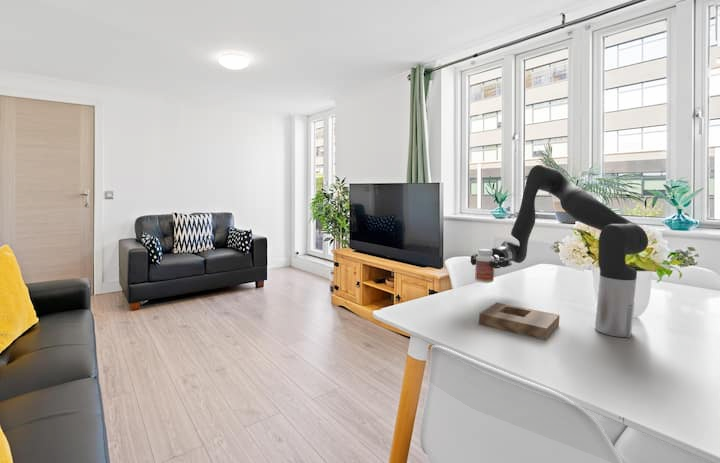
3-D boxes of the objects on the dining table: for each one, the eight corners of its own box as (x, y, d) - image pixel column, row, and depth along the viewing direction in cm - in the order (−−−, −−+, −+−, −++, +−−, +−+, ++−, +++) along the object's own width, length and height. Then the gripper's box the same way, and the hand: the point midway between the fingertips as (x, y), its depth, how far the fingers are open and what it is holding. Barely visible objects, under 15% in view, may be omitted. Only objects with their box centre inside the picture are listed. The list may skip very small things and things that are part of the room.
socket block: (558, 325, 124) (559, 314, 124) (546, 340, 112) (546, 328, 111) (496, 312, 137) (496, 302, 136) (478, 324, 124) (479, 313, 124)
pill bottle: (496, 282, 134) (498, 251, 132) (479, 283, 133) (481, 251, 131) (488, 278, 140) (489, 248, 138) (472, 279, 139) (473, 248, 138)
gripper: (480, 245, 151) (463, 250, 138) (519, 249, 142) (504, 255, 129) (480, 264, 151) (462, 271, 138) (518, 269, 143) (503, 277, 129)
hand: (482, 263), depth 134 cm, fingers closed on pill bottle, 6 cm apart
